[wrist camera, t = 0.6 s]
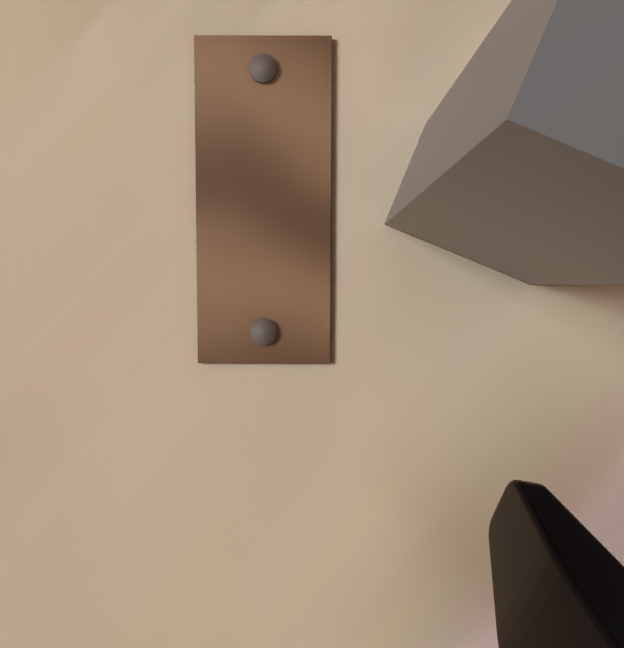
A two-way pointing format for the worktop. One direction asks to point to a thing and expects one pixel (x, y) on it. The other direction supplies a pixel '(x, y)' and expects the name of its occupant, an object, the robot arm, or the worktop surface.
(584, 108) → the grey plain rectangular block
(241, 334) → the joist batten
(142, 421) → the worktop surface
